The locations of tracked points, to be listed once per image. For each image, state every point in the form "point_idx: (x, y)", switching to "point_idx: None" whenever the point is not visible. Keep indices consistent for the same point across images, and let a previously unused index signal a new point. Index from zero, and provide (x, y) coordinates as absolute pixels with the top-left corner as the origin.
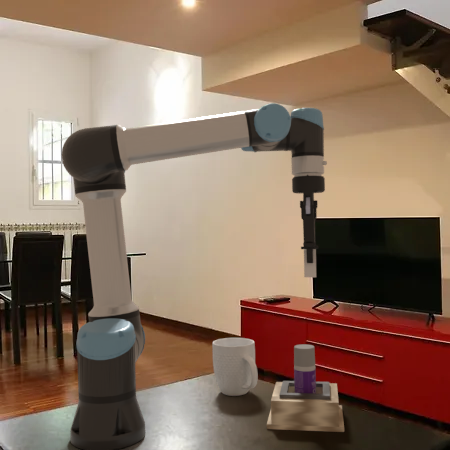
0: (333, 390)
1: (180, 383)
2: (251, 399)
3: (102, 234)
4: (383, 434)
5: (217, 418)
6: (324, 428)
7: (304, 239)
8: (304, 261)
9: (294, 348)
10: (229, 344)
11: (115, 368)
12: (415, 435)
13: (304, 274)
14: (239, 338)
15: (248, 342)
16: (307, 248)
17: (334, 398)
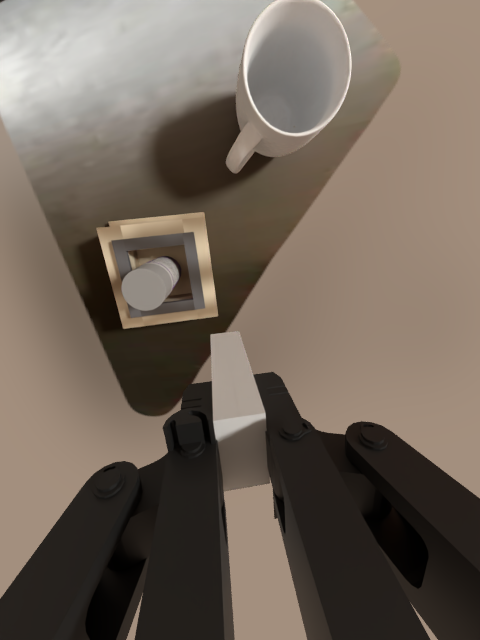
0: (179, 315)
1: None
2: None
3: None
4: (143, 362)
5: (128, 128)
6: None
7: (43, 553)
8: (212, 372)
9: (133, 270)
10: (334, 55)
11: None
12: (152, 392)
13: (211, 340)
14: (347, 78)
15: (328, 114)
16: (164, 463)
17: (141, 321)
